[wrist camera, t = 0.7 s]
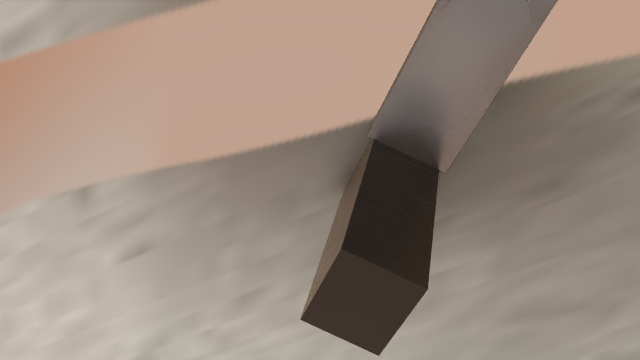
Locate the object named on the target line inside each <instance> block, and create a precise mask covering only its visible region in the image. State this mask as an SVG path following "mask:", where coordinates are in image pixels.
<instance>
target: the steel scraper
mask: <svg viewBox="0 0 640 360" xmlns="http://www.w3.org/2000/svg"><path fill="white" fill-rule="evenodd" d="M557 1H558V0H437V1H436V3H435V5H434V7H433V9H432V11H431V12H430V14H429V16H428V18H427V20H426V22H425V24H424V26H423V28H422V30H421V31H420V33H419V35H418V37H417V39H416V41H415V43H414V45H413V47H412V49H411V50H410V52H409V54H408V56H407V58H406V60H405V62H404V64H403V66H402V68H401V70H400V72H399V73H398V75H397V77H396V79H395V81H394V83H393V85H392V87H391V89H390V90H389V92H388V94H387V96H386V98H385V100H384V102H383V104H382V106H381V108H380V109H379V111H378V113H377V115H376V117H375V119H374V121H373V123H372V125H371V127H370V130H369V133H368V136H369V137H371V138H372V139H371V141H370V143H369V145H368V147H367V149H366V151H365V152H364V154H363V156H362V158H361V160H360V162H359V164H358V166H357V167H356V169H355V171H354V173H353V175H352V177H351V179H350V181H349V182H348V184H347V186H346V188H345V190H344V193H343V195H342V198H341V201H340V204H339V207H338V210H337V213H336V216H335V219H334V222H333V225H332V228H331V231H330V234H329V237H328V240H327V243H326V246H325V248H324V251H323V254H322V257H321V260H320V263H319V266H318V269H317V272H316V275H315V278H314V281H313V284H312V287H311V290H310V293H309V296H308V299H307V301H306V304H305V307H304V310H303V313H302V316H301V319H300V320H302V321H305V322H307V323H309V324H311V325H313V326H315V327H318V328H320V329H322V330H324V331H326V332H328V333H331V334H333V335H335V336H337V337H339V338H341V339H344V340H346V341H348V342H350V343H352V344H354V345H357V346H359V347H361V348H363V349H365V350H367V351H369V352H372V353H374V354H376V355H378V356H379V355H380V353H381V352H382V351H383V349H384V348H385V347H386V345H387V344H388V343H389V341H390V340H391V338H392V337H393V336H394V334H395V333H396V332H397V330H398V329H399V328H400V326H401V325H402V324H403V322H404V321H405V319H406V318H407V317H408V315H409V314H410V313H411V311H412V310H413V309H414V307H415V306H416V305H417V303H418V302H419V300H420V299H421V298H422V296H423V295H424V294H425V292H426V291H427V290H428V281H429V270H430V260H431V249H432V238H433V228H434V217H435V206H436V196H437V185H438V175H439V170H440V171H442V172H445V173H446V171H447V170H448V168H449V167H450V165H451V164H452V162H453V160H454V159H455V157H456V156H457V154H458V153H459V151H460V150H461V148H462V147H463V145H464V144H465V142H466V140H467V139H468V137H469V136H470V134H471V133H472V131H473V130H474V128H475V127H476V125H477V124H478V122H479V121H480V119H481V117H482V116H483V114H484V113H485V111H486V110H487V108H488V107H489V105H490V104H491V102H492V101H493V99H494V97H495V96H496V94H497V93H498V91H499V90H500V88H501V87H502V85H503V84H504V82H505V81H506V79H507V77H508V76H509V74H510V73H511V71H512V70H513V68H514V67H515V65H516V64H517V62H518V61H519V59H520V58H521V56H522V54H523V53H524V51H525V50H526V48H527V47H528V45H529V44H530V42H531V41H532V39H533V37H534V36H535V34H536V33H537V31H538V30H539V28H540V27H541V25H542V24H543V22H544V20H545V19H546V18H547V16H548V14H549V13H550V11H551V10H552V8H553V7H554V5H555V4H556V2H557Z"/></svg>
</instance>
